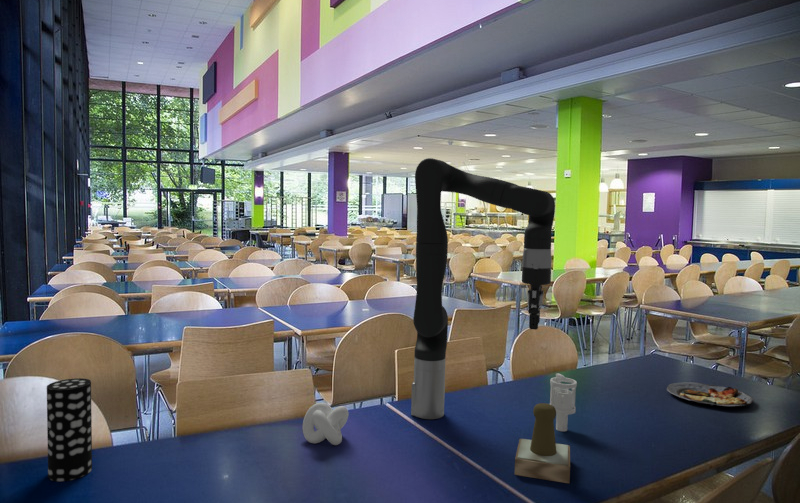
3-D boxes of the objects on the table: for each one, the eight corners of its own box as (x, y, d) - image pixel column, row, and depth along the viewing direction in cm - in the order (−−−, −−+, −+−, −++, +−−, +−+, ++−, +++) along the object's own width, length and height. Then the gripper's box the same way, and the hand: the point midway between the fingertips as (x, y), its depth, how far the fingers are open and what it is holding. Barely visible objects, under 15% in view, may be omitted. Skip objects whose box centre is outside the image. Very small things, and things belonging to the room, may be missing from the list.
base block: (514, 474, 122) (515, 457, 121) (519, 453, 133) (519, 437, 133) (569, 483, 118) (570, 466, 118) (569, 460, 129) (569, 444, 129)
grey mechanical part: (567, 423, 153) (569, 372, 152) (579, 433, 146) (581, 380, 145) (544, 425, 152) (546, 373, 151) (555, 434, 145) (557, 380, 144)
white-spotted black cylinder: (61, 464, 122) (59, 378, 121) (98, 463, 123) (98, 378, 121) (39, 481, 114) (38, 390, 112) (80, 481, 114) (79, 389, 113)
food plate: (752, 396, 182) (752, 386, 182) (754, 417, 162) (754, 406, 162) (670, 384, 195) (671, 375, 195) (663, 403, 176) (663, 392, 176)
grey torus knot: (331, 427, 147) (332, 395, 146) (360, 441, 138) (360, 407, 138) (297, 438, 139) (297, 405, 139) (324, 453, 130) (325, 417, 130)
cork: (557, 457, 122) (559, 410, 121) (530, 454, 123) (532, 408, 122) (555, 446, 128) (557, 401, 127) (529, 443, 129) (531, 399, 128)
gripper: (524, 263, 149) (522, 320, 150) (519, 267, 135) (517, 330, 136) (552, 264, 147) (549, 322, 148) (550, 268, 133) (548, 332, 134)
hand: (534, 326), depth 142 cm, fingers open, 8 cm apart
